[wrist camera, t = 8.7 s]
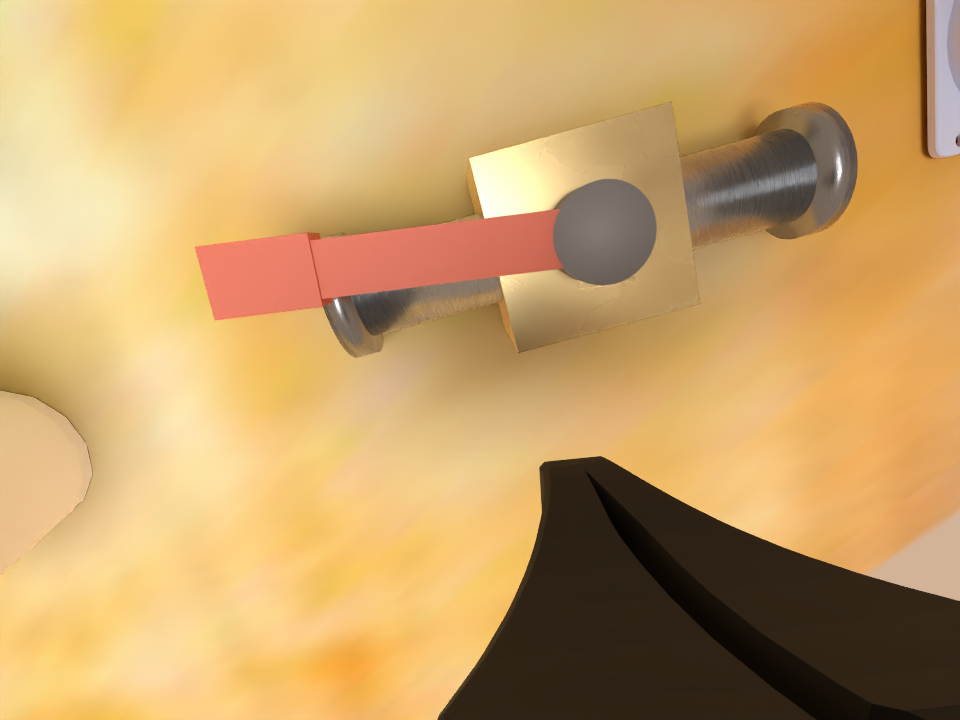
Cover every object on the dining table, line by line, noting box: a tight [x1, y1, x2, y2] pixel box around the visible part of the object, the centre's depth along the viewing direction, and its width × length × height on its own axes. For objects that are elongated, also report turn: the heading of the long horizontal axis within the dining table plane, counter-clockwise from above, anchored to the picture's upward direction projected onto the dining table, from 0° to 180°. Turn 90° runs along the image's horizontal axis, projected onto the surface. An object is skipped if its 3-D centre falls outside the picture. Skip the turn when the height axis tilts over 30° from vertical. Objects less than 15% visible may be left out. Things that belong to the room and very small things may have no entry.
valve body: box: [320, 102, 857, 358], centre depth 16 cm, size 17×6×5 cm, turn 105°
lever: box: [195, 179, 657, 320], centre depth 13 cm, size 12×3×1 cm, turn 97°
